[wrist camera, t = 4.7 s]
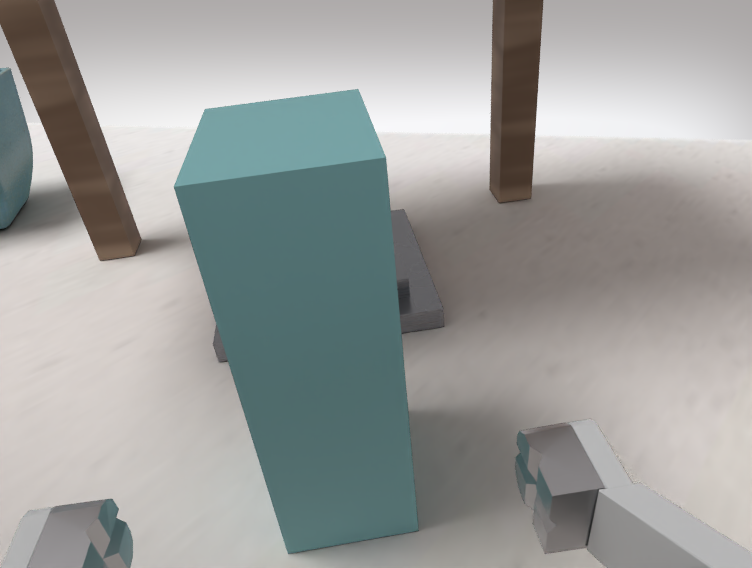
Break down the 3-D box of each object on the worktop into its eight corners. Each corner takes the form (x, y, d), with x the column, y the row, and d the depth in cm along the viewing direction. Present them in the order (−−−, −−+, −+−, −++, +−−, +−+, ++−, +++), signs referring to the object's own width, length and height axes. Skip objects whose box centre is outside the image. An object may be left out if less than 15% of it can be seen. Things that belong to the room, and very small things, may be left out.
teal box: (418, 530, 18) (385, 157, 11) (287, 554, 17) (173, 186, 11) (393, 411, 22) (358, 89, 15) (287, 429, 22) (205, 109, 15)
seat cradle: (444, 326, 26) (442, 289, 25) (218, 361, 25) (207, 325, 24) (405, 224, 34) (403, 193, 33) (235, 249, 33) (227, 218, 32)
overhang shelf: (639, 325, 24) (777, -352, 13) (12, 426, 23) (-416, -244, 12) (520, 185, 37) (540, -227, 26) (108, 244, 35) (-57, -166, 24)
